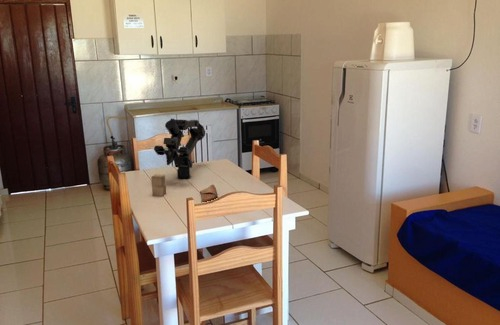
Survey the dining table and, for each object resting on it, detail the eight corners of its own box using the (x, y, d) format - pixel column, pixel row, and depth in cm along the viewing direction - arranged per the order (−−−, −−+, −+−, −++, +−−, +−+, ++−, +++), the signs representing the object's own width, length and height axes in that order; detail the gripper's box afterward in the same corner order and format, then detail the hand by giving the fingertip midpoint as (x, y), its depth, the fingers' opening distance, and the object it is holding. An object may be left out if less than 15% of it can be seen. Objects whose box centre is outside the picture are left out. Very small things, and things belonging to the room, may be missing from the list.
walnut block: (157, 192, 225) (156, 173, 222) (166, 193, 223) (165, 174, 221) (152, 196, 220) (151, 176, 217) (161, 196, 219) (160, 177, 216)
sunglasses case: (198, 191, 226) (205, 180, 225) (210, 197, 228) (217, 186, 227) (200, 203, 209) (207, 191, 208) (213, 209, 211) (220, 197, 210)
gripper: (154, 130, 232) (145, 155, 224) (186, 131, 227) (179, 157, 219) (162, 142, 241) (153, 166, 234) (193, 143, 236) (186, 168, 229)
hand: (167, 164), depth 229 cm, fingers closed
